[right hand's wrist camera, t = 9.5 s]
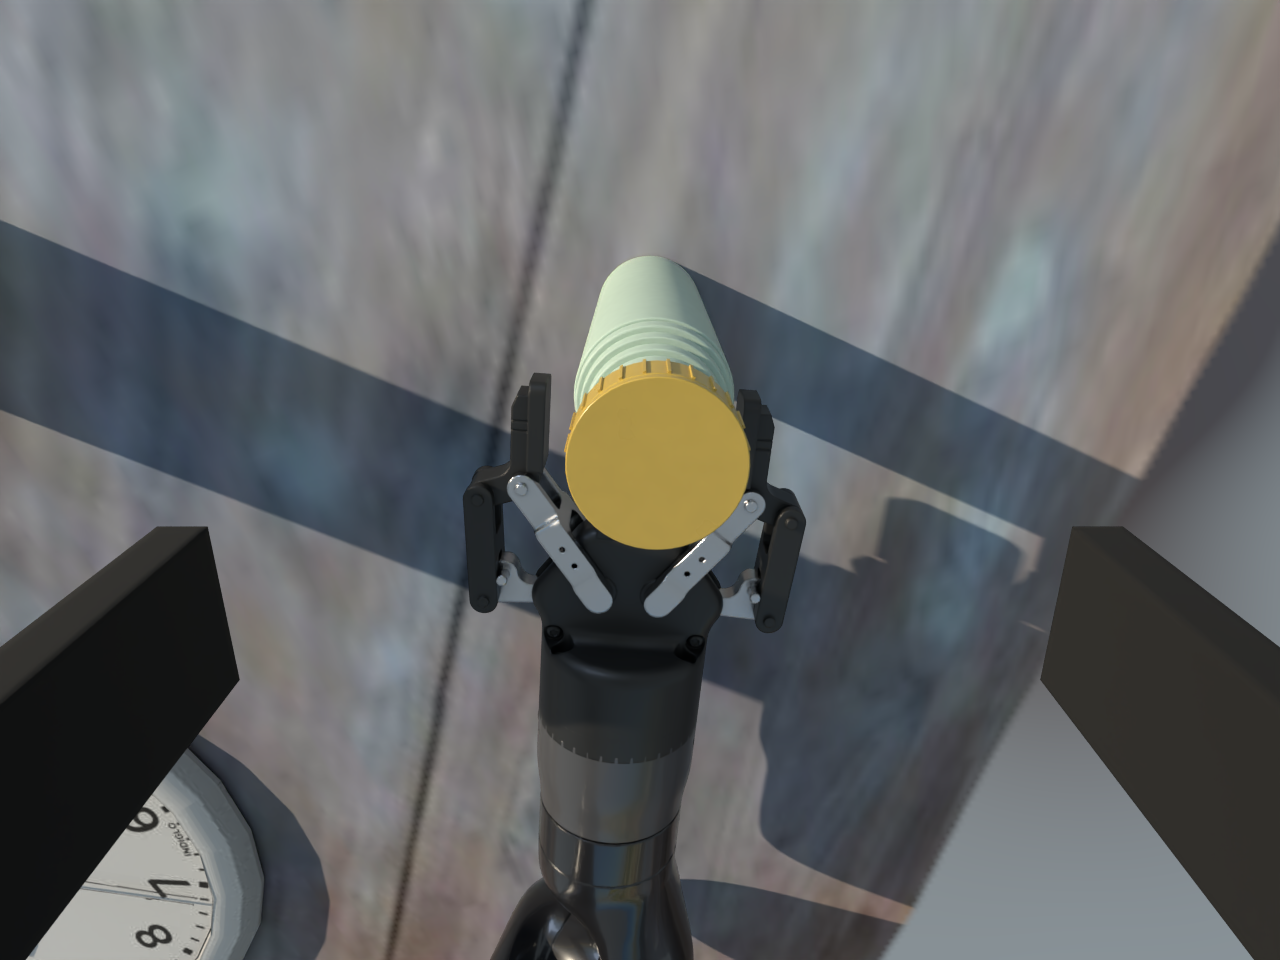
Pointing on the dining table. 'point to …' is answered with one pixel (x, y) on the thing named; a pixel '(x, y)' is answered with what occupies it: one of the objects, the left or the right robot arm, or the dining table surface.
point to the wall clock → (169, 881)
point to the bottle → (650, 325)
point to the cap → (657, 455)
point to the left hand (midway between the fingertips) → (645, 385)
